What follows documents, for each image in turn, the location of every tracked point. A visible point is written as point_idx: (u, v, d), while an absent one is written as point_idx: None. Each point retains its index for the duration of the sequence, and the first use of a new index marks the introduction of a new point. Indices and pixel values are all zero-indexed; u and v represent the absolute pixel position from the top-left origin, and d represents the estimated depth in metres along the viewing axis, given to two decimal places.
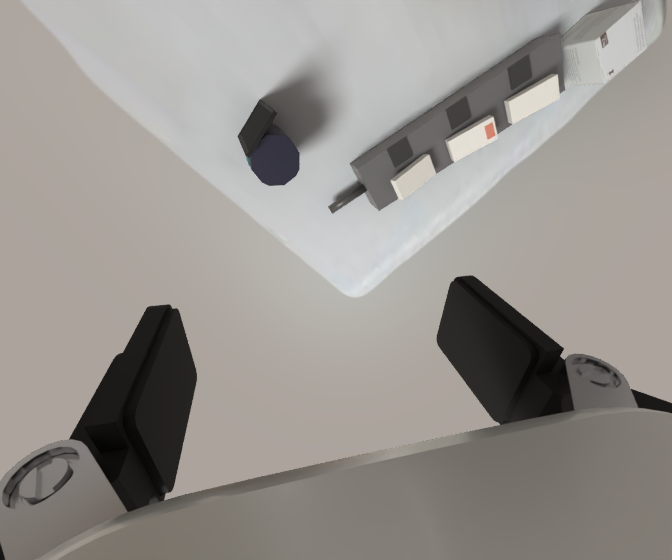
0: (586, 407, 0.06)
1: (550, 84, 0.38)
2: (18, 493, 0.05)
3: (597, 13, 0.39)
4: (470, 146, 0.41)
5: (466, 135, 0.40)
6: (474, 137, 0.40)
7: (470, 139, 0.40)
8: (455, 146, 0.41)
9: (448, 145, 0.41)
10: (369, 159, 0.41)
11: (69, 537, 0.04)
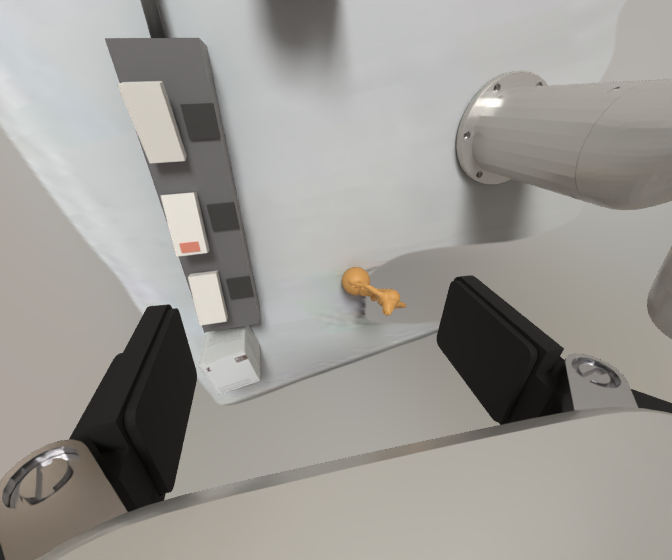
0: (586, 407, 0.06)
1: (218, 315, 0.35)
2: (19, 493, 0.05)
3: (259, 353, 0.45)
4: (176, 220, 0.30)
5: (194, 217, 0.30)
6: (188, 227, 0.30)
7: (186, 222, 0.30)
8: (183, 201, 0.29)
9: (187, 193, 0.29)
10: (206, 69, 0.26)
11: (69, 537, 0.04)
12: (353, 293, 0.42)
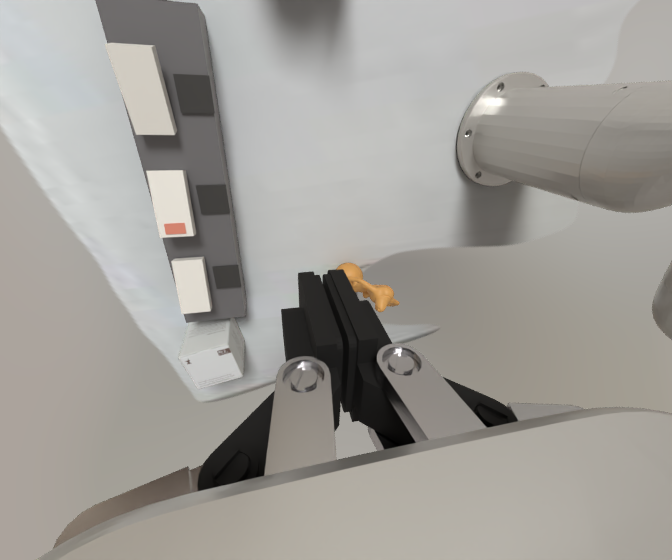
0: (420, 409, 0.06)
1: (202, 304, 0.33)
2: (289, 376, 0.07)
3: (243, 348, 0.43)
4: (162, 199, 0.28)
5: (181, 197, 0.28)
6: (174, 207, 0.28)
7: (173, 201, 0.28)
8: (171, 178, 0.27)
9: None
10: (203, 39, 0.25)
11: (301, 428, 0.06)
12: None
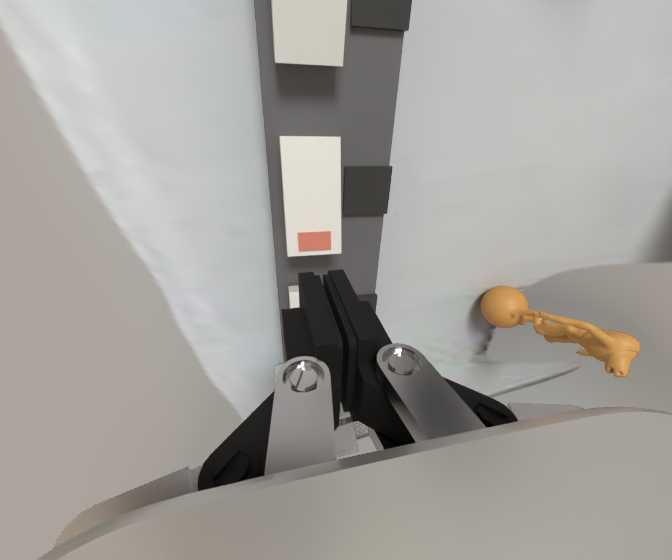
0: (420, 409, 0.06)
1: None
2: (289, 376, 0.07)
3: None
4: (300, 189, 0.16)
5: (331, 186, 0.16)
6: (317, 203, 0.16)
7: (317, 193, 0.16)
8: (319, 152, 0.15)
9: None
10: None
11: (301, 428, 0.06)
12: (504, 325, 0.28)
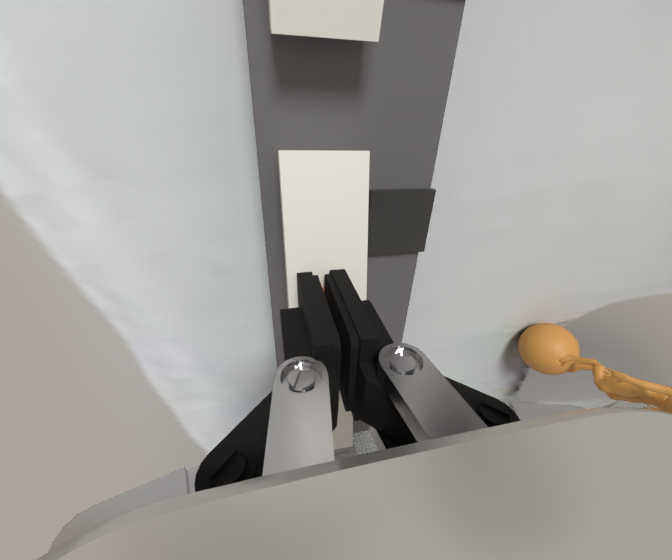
0: (422, 408, 0.06)
1: (340, 435, 0.16)
2: (287, 376, 0.07)
3: None
4: (309, 228, 0.10)
5: (355, 223, 0.11)
6: (334, 248, 0.11)
7: (334, 233, 0.11)
8: (338, 173, 0.10)
9: None
10: None
11: (299, 429, 0.06)
12: (550, 373, 0.23)
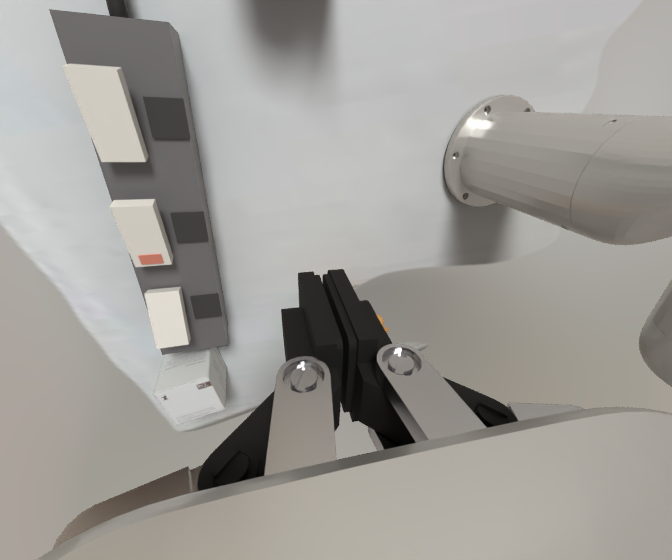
0: (420, 409, 0.06)
1: (179, 337, 0.31)
2: (289, 376, 0.07)
3: (225, 376, 0.41)
4: (133, 233, 0.25)
5: (154, 231, 0.26)
6: (147, 240, 0.26)
7: (145, 235, 0.26)
8: (140, 214, 0.24)
9: (144, 204, 0.24)
10: (176, 59, 0.23)
11: (301, 428, 0.06)
12: None
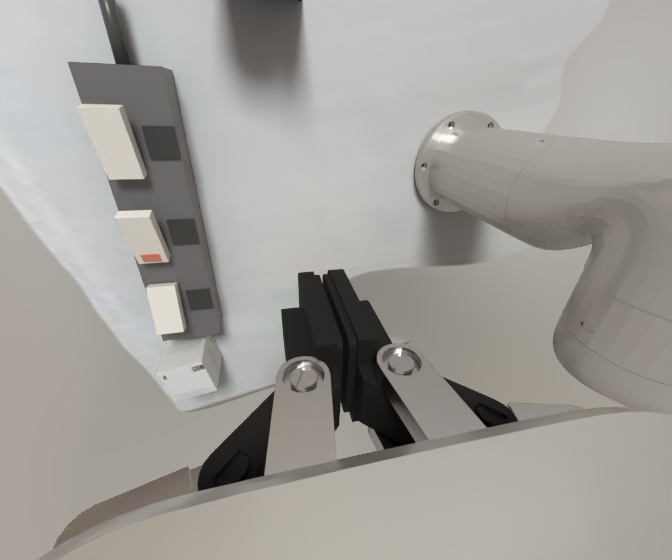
0: (420, 409, 0.06)
1: (176, 325, 0.36)
2: (289, 376, 0.07)
3: (220, 362, 0.46)
4: (135, 238, 0.31)
5: (152, 236, 0.31)
6: (147, 243, 0.31)
7: (145, 239, 0.31)
8: (139, 223, 0.29)
9: (143, 215, 0.29)
10: (168, 95, 0.28)
11: (301, 429, 0.06)
12: None
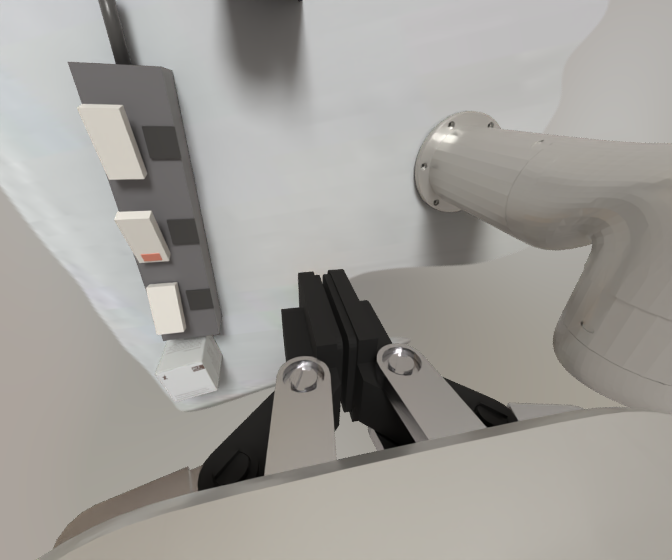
0: (420, 409, 0.06)
1: (176, 325, 0.36)
2: (289, 376, 0.07)
3: (220, 362, 0.46)
4: (135, 238, 0.31)
5: (152, 237, 0.31)
6: (147, 243, 0.31)
7: (145, 239, 0.31)
8: (139, 224, 0.29)
9: (142, 216, 0.29)
10: (168, 95, 0.28)
11: (301, 429, 0.06)
12: None
